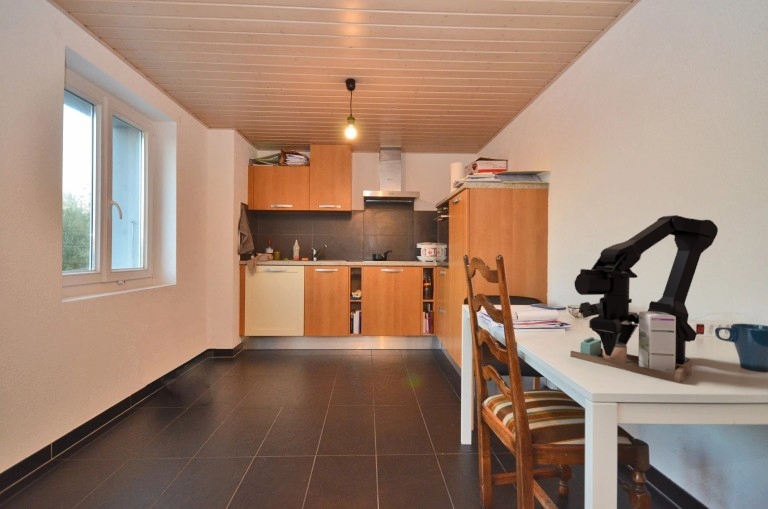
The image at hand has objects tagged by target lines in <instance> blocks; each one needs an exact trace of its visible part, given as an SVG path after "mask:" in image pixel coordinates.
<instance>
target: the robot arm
mask: <svg viewBox="0 0 768 509" xmlns="http://www.w3.org/2000/svg"><path fill="white" fill-rule="evenodd" d="M718 233H719V229H718V226H717V225H716V224H715V222H714V221H713V220H711V219H698V218H697V219H696V218H690V217H684V216H680V215H677V214H675V215H665V216H661V217H659V218H657V220H656V221H655V222H653V223H652V224H650V225H649V226H647V227H645V228H644V229H643V230H640V231H639V232H638V233H636V234H635V235H633V236H632V237H631V238H629V239H628V240H625V241H623V242H619V243H616V244H612V245H610V246H608V247H605V248H604V249H602V251H601V252H600V256H599V257H598V259H597V260H596V262H595V263H594V265H593V266H592V267H591V268H590V269H587V268H580V270H579V274H577V276H576V277H575V280H574V289H575V290H576V291H575V292H577V293H578V294H579V295H580V296H593V295H594V296H595V295H596V296H599V295H600V296H602V295H603V296H602V297H600V298H599V302H597V303H593V304H591V303H590V302H589V301H585V302H581V303H580V305H579V307H578V313H579V314H581V315H582V318H583V319H585V318H589V317H592V316H594V317H592V318H591V319H589V323H588V325H589V326H588V327H589V329H591V330H592V331H593V332H595V333H596V334H597V335H598V336H599V338H600V340H601V346H602V349H603V348H604V351H605V354H606V355H607V356H611V354H612V352H613V350H614V348H615V345H616V343H617V342H622V343H625V344H626V346H628V345H627V344H628V343H629V341H630V339H631V338H632V336H633V334H634V333H635V331H636V330H637V328H639V313H637V312H635V311H630V304H631V303H632V301H633V300H632V298H630V284H631V283H630V281H631V280H630V279H635V278H636V279H637V278H638V275H637V274H636V273H635V272H633V270H632V269H631V268H633V267H634V266H635V265H637V263H638V262H639V261H640V260H641V257H642V255H643V253H645V252H646V251H647V250H649V249H650V248H651V247H654V246H655V245H656V244H658V243H659V242H661V241H662V240H664V239H665V238H666V237H668V236H674V237H673V238H674V239H673V240H674V243H675V247H676V248H677V251H676V254H675V256H674V261H673V263H672V267H671V269H670V272H669V275H668V278H667V281H666V284H665V287H664V290H663V294H662V296H661V297H660V299H658V300H657V301H653V300H652V301H650V302H649V305H648V310H647V311H654V312H663V313H666V314H669V315H672V316H675V317H676V350H675V364H679V365H681V364H682V365H683V364H685V363H686V362H687V363H688V361H690V357H686V346H687V345H686V344H687V343H688V342H689V343H690V342H692V341H693V342H694V341H695V340H696V339H697V338H696V337H697V335H698V333H697V332H696V330H695V329H694V328H693V327H692V326H691V325H690V324H689V323H688V320H689V315H690V314H689V312H688V309H687V306H686V300H687V298H688V294H689V292H690V287H691V285H692V282H693V280H694V276H695V273H696V270H697V267H698V263H699V261H700V258H701V255H702V253H703V252H705V251H706V250H707V249H708V248H709V247H711V246H712V245H713V243H714V241H715V239H716V237H717V235H718Z"/></svg>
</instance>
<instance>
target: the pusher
mask: <svg viewBox="0 0 768 509" xmlns="http://www.w3.org/2000/svg"><path fill="white" fill-rule="evenodd" d="M601 348H602V341H601V339H598V338H594V337H592V336H590V337H588V338H585V339H583V341H582V342H580V348H579V349H580V351H579V352H580V353H584V354H589V355H593V356H597V357H599V356H600V355H602V354H601Z"/></svg>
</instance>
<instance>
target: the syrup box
mask: <svg viewBox="0 0 768 509" xmlns="http://www.w3.org/2000/svg"><path fill="white" fill-rule="evenodd" d="M638 315H639V324H638V356H639V359H638V362H637V363H638V364H637V366H641V367H645V368H650V369H654V370H658V371H663V372H667V373H671V374H675V364H676V362H675V350H676V317H675V316H672V315H669V314H666V313H663V312H654V311H648V310H647V311H645V310H644V311H643V310H642V311H639V312H638Z"/></svg>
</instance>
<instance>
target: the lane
mask: <svg viewBox="0 0 768 509" xmlns="http://www.w3.org/2000/svg"><path fill="white" fill-rule="evenodd" d="M569 355H570V357H571V358H576V359H579V360H582V361H583V360H584V361H588V362H591V363H594V364H595V363H596V364H599V365H603V366H607V365H608V367H611V366H612V367H613V368H615V367H616V368H615V369H620V370H623V371H624V370H625V371H629V372H631V373H636V374H640V375H646V376H649V377H653V378H658V379H660V380H661V379H662V380H665V381H669V382H673V383H676V384H681V383H682V382H684V381H685V379H687V378H688V377H689V376H690V375H691V374H692V362H688V361H687V362H686V363H685V364H682V365H681V364H679V363H675V374H671V373H667V372H663V371H658V370H654V369H650V368H645V367H641V366H638V365H635V364H632V363H623V362H619V361H615V360H610V359H606V358H603V347H601V354H600V355H601V356H602V357H601V356H593V355H589V354H584V353H580V351H575V350H570V354H569ZM638 359H639V355H634V354H629V353H627V361H628V362H629V361H630V362H633V361H634V363H638Z"/></svg>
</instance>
